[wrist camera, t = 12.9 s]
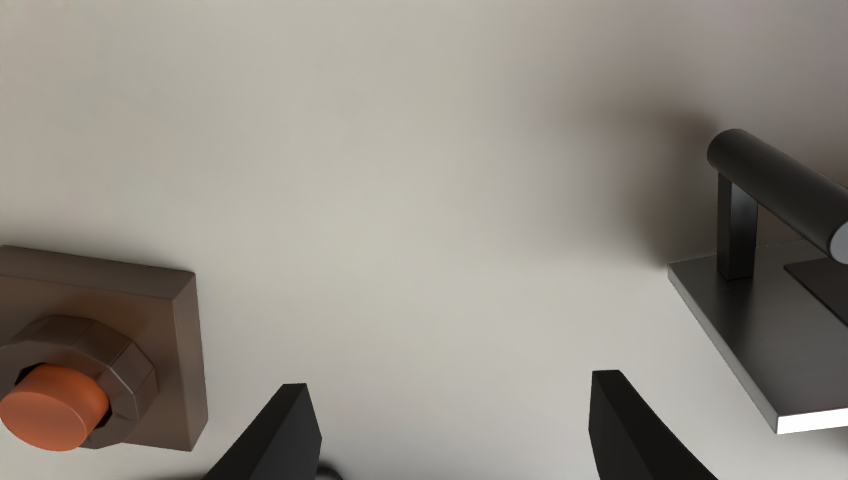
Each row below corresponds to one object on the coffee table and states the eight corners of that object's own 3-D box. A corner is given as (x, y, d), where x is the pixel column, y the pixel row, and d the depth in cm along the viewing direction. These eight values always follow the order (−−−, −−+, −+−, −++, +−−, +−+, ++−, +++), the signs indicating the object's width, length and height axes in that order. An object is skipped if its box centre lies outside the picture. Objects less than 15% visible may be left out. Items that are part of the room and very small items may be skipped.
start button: (115, 425, 24) (92, 456, 22) (38, 414, 24) (10, 445, 22) (103, 368, 22) (77, 398, 21) (20, 356, 22) (-13, 386, 21)
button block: (209, 419, 29) (175, 483, 25) (48, 397, 28) (-8, 458, 25) (195, 272, 24) (151, 325, 20) (2, 244, 24) (-76, 293, 20)
